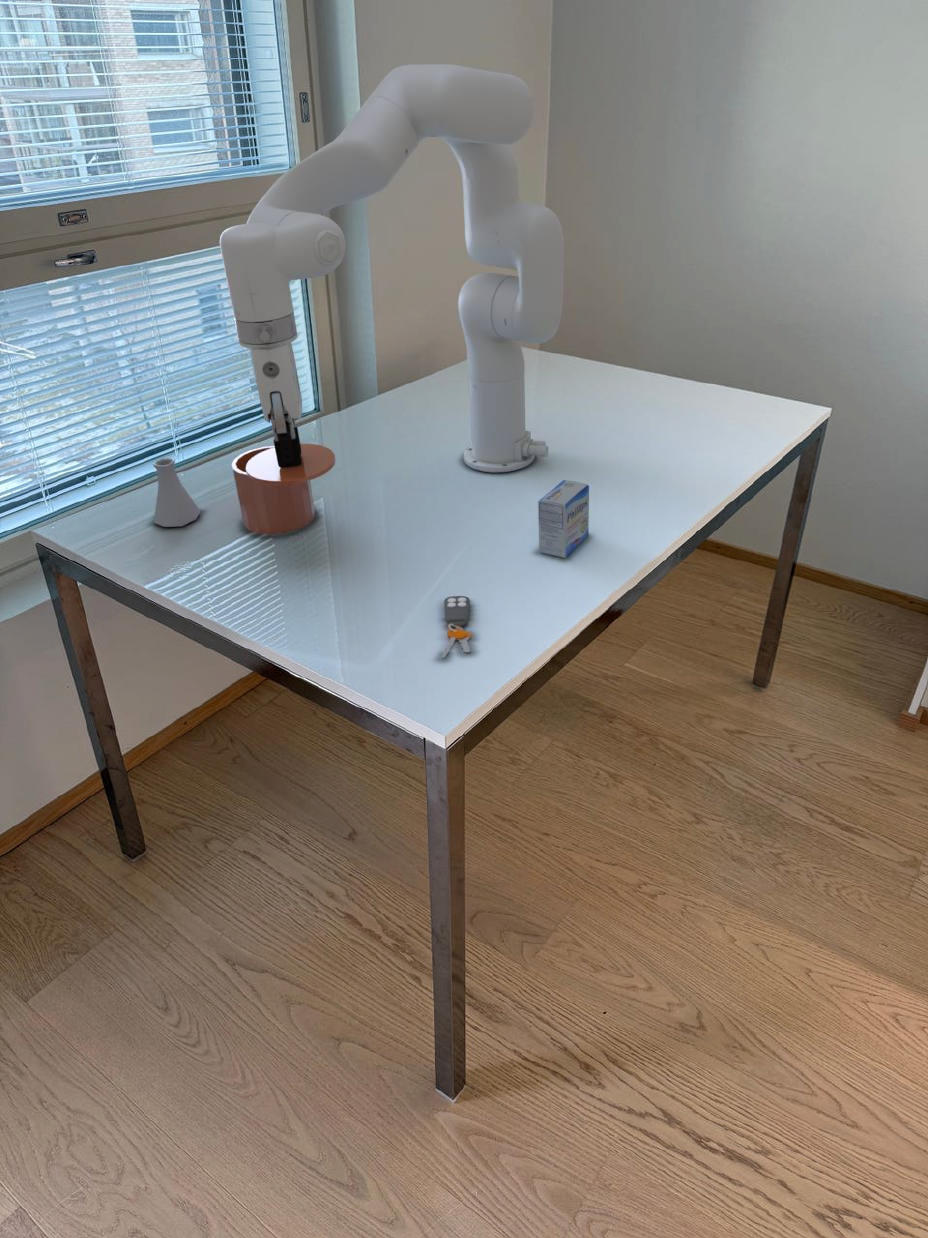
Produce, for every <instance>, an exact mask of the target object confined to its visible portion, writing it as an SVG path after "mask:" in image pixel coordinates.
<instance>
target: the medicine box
mask: <svg viewBox="0 0 928 1238" xmlns="http://www.w3.org/2000/svg"><path fill="white" fill-rule="evenodd" d="M537 503H538V504H537V505H538V506H537V511H538V517H537V518H538V519H537V520H538V551H539V553H541V554H546V555H550V556H554V557H558V558H563V559H566V558H567V557H568V556H569V555H570V554H572V552H573V551H574V550H575V549H577V547H578V546H579V545H580V544H582V542H583V541H584V540H585V539H586V538H587V537H589V529H590V525H589V524H590V523H589V522H590V485H589V484H587V483H585V482H584V483H583V482H580V481H574V480H569V479H563V480H562V481H560V482H559V483H558V484H557V485H556V486H554V488H552V489H551V490H550V491H549V492H547V493H546V494H545V495H544V496H542V497H541V498H540V499H539V500H538V502H537Z"/></svg>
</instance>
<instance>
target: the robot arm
mask: <svg viewBox="0 0 928 1238" xmlns="http://www.w3.org/2000/svg"><path fill="white" fill-rule="evenodd" d="M534 105H535V104H534V99H533V95H532V93H531V90H530V88H529V87H528V85H527V83H525V81H523V79H521V78H520V77H518V76H516V75H513V74H510V73H503V72H497V71H492V70H484V69H481V68H480V69H479V68H474V67H469V66H466V65H465V66H464V65H460V64H459V65H458V64H452V63H451V64H450V63H448V64H447V63H429V64H428V63H427V64H423V63H422V64H421V63H420V64H419V63H418V64H415V63H413V64H404V65H400V66H397V67H395V68H394V69H391V70H390V71H389V73H387V74H386V75H385V76H384V78H383V79H382V80H381V81H380V82H379V84H378V85H377V87H376V88H375V89H374V90H373V91H372V93H371V94H370V95H369V97H368V98H367V99H366V100H365V101H364V103H363V104H362V106H361V107H360V108H359V110H358V111H357V112H356V113H355V115H354V116H353V117H352V119H351V120H350V121H349V123H348V124H347V125H346V126H345V127H344V128H343V130H342V131H341V133H339V135H338V136H337V137H336V138H335V139H334V140H332V141H331V142H329V143H327V144H326V145H324V146H322V147H320V148H319V149H318V150H316V151H315V152H313V153H312V154H310V155H309V156H307V157H306V158H304V159H302V161H300V162H298V163H297V164H295V165H293V166H292V167H291V168H290V169H288V170H286V171H285V172H284V173H283V174H282V175H281V176H280V177H279V178H277V180H276V181H275V182H273V184H272V185H271V186H270V187H269V188H268V190H267V191H266V192H265V194H264V195H263V196H262V197H261V199H260V200H259V201H258V202H257V204H256V206H255V207H254V208H253V210H252V211H251V213H250V214H249V217H248V219H247V221H246V223H243V224H238V225H234V226H231V227H228V228H226V229H225V230H223V231H222V233H221V235H220V237H219V247H220V253H221V258H222V264H223V268H224V274H225V279H226V284H227V288H228V295H229V299H230V303H231V309H232V313H233V319H234V324H235V329H236V334H237V338H238V344H239V345H240V346H241V347H242V348H246V349H249V353H250V358H251V364H252V370H253V374H254V380H255V384H256V388H257V392H258V398H259V402H260V406H261V410H262V411H261V412H262V416H263V418H264V421H265V422H267V423H268V424H270V423H271V427H272V433H273V446H275V451H276V456H277V462H278V466H279V467H281V468H282V467H290V466H299V465H301V463H302V461H301V445H300V444H301V440H300V433H299V429H298V426H296V419H297V420H301V418H302V416H303V397H302V392H301V387H300V381H299V377H298V370H297V365H296V359H295V353H294V349H293V344H292V343H293V342H294V341H296V340H297V339H298V330H297V325H296V323H297V322H296V319H295V311H294V306H293V300H292V294H291V293H292V292H291V287H290V282H292V281H296V280H304V279H307V280H308V279H317V278H321V277H324V276H326V275H329V274H330V273H332V272H335V270H337V268H338V267H339V266H340V265H341V263H342V262H343V260H344V257H345V254H346V249H347V246H346V245H347V244H346V243H347V242H346V238H345V234H344V232H343V230H342V229H341V227H340V226H339V225H338V223H336V222H335V220H333V219H331V218H329V217H327V216H326V215H323V214H325V213H326V212H329V211H330V210H333V209H334V208H336V207H339V206H341V205H342V206H343V205H344V204H349V203H352V202H356V201H358V200H362V199H365V198H368V197H369V196H373V195H375V194H377V193H379V192H381V191H383V190H384V189H386V188H387V187H388V186H389V184H390V183H391V182H392V181H393V179H394V178H395V177H396V175H397V174H398V172H399V171H400V170H401V168H402V167H403V165H404V164H405V163H406V162H407V160H409V158H410V156H411V155H412V154H413V152H414V151H415V150H416V149H417V147H418V146H419V145H420V143H421V142H422V141H423V140H424V139H427V138H441V139H442V140H443V141H444V142H445V143H446V145H447V146H449V148H450V149H451V151H452V153H453V154H454V156H455V158H456V160H457V163H458V165H459V168H460V174H461V181H462V197H463V221H464V223H463V224H464V225H463V226H464V239H465V248H466V251H467V254H468V256H469V257H470V259H472V260H473V261H474V262H476V263H478V264H481V265H485V266H488V267H494V268H500V269H501V268H502V269H507V270H513V271H514V270H515V271H517V273H518V276H516V275H510V274H504V273H496V272H483V273H477V274H475V275H473V276H471V277H470V278H468V279H467V280H466V281H465V282H464V284H463V285H462V287H461V289H460V291H459V293H458V299H457V301H458V302H457V309H458V310H457V311H458V316H459V321H460V324H461V328H462V329H461V330H462V332H463V337H464V340H465V341H464V342H465V349H466V358H467V361H466V362H467V377H468V378H467V379H468V396H469V415H470V416H469V419H470V434H471V435H470V438H471V445H470V446H468V447H467V448H466V449H465V450H464V452H463V461H464V463H465V465H466V466H467V467H469V468H471V469H473V470H476V471H480V472H486V473H508V472H513V471H517V470H521V469H524V468H526V467H528V466H530V465H531V463H533V462H534V460H535V457H539V458H547V457H548V455H549V446H548V445H547V442H546V441H545V440H534V439H533V438H532V432H531V431H530V430H526V389H525V388H526V386H525V382H526V381H525V368H526V367H525V358H524V357H525V356H524V352H523V348H522V346H521V344H520V342H523V343H528V344H535V345H536V344H538V345H539V344H544V343H547V342H548V341H550V340H551V339H552V338H554V336H555V335H556V333H557V332H558V330H559V327H560V325H561V320H562V316H563V306H564V266H565V265H564V264H565V263H564V259H565V254H564V253H565V245H564V243H565V242H564V233H563V232H564V231H563V228H562V225H561V222H560V219H559V218H558V216H557V214H556V213H555V212H554V211H553V210H552V209H550V208H548V207H547V206H544V205H542V204H535V203H525V202H522V201H521V199H520V188H519V187H520V185H519V172H518V171H519V170H518V162H517V158H516V154H515V151H514V149H513V147H512V145H513V144H515V143H518V142H519V141H521V139H523V138H524V137H525V136H526V135H527V133H528V132H529V130H530V128H531V126H532V124H533V120H534V113H535V106H534ZM294 430H295V432H294ZM295 435H296V437H295Z"/></svg>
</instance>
